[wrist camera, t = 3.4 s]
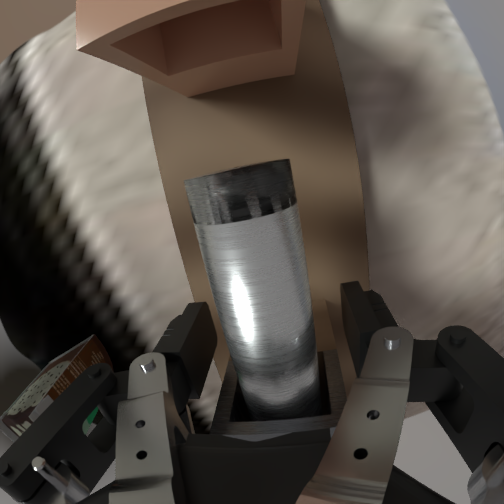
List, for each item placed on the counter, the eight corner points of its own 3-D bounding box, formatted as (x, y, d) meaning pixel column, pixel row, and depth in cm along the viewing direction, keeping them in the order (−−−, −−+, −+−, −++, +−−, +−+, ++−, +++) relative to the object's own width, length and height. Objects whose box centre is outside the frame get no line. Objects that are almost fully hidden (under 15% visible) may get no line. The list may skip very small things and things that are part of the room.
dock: (362, 394, 20) (375, 451, 15) (238, 408, 21) (227, 465, 16) (309, -12, 11) (318, -67, 6) (142, 27, 13) (92, -7, 7)
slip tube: (323, 457, 15) (325, 496, 12) (276, 462, 15) (273, 500, 12) (288, 157, 9) (291, 160, 6) (200, 174, 10) (167, 185, 7)
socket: (294, 74, 12) (309, -22, 4) (187, 97, 13) (76, 50, 5) (272, -4, 11) (259, -121, 2) (173, 19, 12) (82, -63, 3)
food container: (83, 406, 25) (42, 470, 15) (45, 364, 23) (-6, 424, 14) (154, 383, 22) (107, 479, 12) (104, 327, 20) (31, 415, 11)
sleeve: (337, 452, 15) (342, 506, 11) (262, 458, 15) (256, 512, 11) (336, 348, 12) (351, 424, 8) (228, 361, 13) (209, 434, 9)
